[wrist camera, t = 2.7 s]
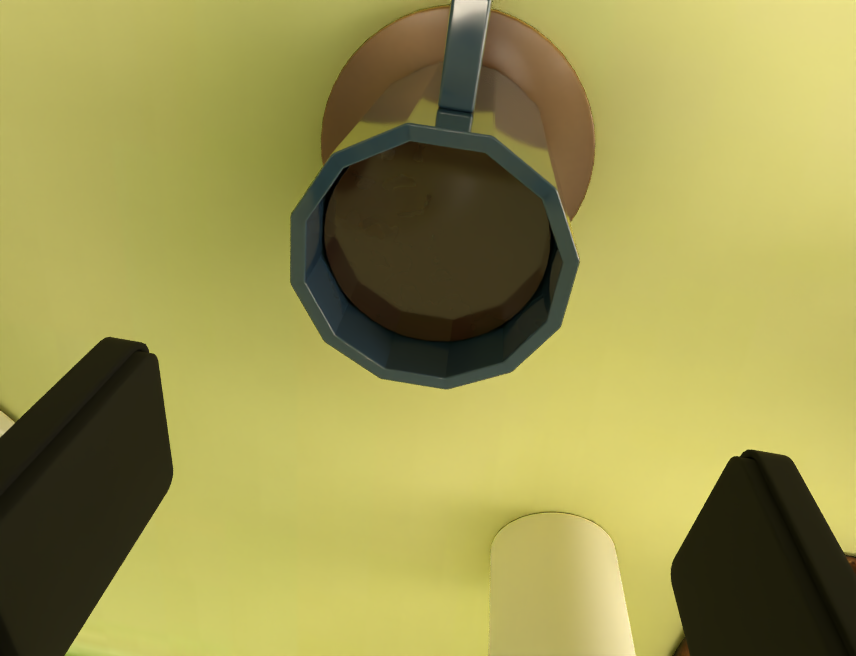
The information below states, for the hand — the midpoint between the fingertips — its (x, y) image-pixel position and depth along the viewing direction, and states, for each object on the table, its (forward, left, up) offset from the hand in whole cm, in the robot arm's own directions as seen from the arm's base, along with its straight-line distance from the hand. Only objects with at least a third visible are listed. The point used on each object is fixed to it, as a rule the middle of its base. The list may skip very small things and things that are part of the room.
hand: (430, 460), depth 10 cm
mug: (-1, +2, -16) cm, 16 cm away
